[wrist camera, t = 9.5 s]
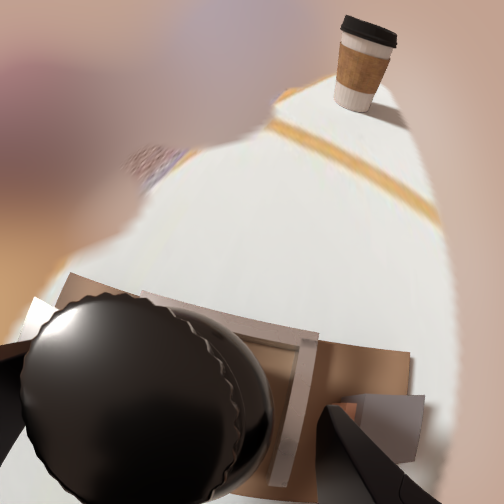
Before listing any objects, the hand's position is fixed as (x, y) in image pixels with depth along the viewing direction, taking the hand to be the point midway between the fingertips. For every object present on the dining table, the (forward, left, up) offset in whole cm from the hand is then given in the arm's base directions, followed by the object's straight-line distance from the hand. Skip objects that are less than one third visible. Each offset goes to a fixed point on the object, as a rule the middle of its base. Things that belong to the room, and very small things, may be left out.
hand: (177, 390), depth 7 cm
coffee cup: (+39, +18, -10) cm, 44 cm away
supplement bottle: (-1, 0, -8) cm, 8 cm away
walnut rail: (0, 0, -9) cm, 9 cm away
